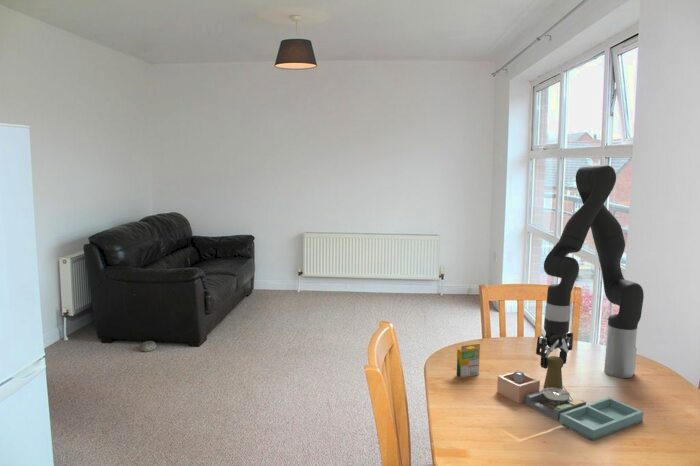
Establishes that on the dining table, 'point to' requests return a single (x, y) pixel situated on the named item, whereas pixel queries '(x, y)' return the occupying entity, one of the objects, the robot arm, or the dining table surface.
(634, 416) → the teal divided tray
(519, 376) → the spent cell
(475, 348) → the crayon box
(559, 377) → the olive gourd
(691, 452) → the dining table surface
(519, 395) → the cup
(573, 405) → the checker cradle
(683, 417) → the dining table surface
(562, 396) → the silver domed disc
